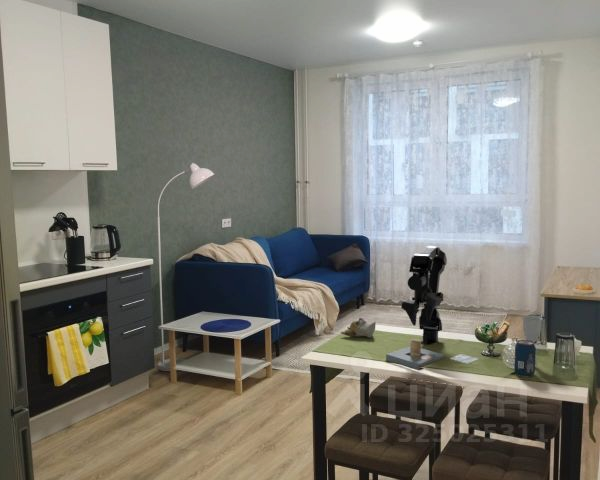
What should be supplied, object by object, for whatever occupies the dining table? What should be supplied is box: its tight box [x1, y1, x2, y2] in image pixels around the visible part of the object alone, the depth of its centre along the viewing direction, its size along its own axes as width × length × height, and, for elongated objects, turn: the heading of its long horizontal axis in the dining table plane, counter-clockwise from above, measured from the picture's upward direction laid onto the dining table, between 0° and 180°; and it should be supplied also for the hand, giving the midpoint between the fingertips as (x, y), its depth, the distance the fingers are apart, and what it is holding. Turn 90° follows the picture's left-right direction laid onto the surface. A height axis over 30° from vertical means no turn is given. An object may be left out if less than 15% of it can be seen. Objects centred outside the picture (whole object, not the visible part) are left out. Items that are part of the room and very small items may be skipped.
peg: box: [409, 338, 422, 358], centre depth 221 cm, size 4×4×8 cm
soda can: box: [514, 339, 536, 378], centre depth 204 cm, size 7×7×12 cm
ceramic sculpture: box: [340, 317, 376, 339], centre depth 256 cm, size 11×9×15 cm
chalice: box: [521, 315, 544, 366], centre depth 215 cm, size 7×7×18 cm
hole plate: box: [385, 346, 446, 372], centre depth 221 cm, size 16×16×3 cm
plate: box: [449, 353, 479, 365], centre depth 219 cm, size 8×8×2 cm
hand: (421, 323), depth 229 cm, fingers open, 9 cm apart
